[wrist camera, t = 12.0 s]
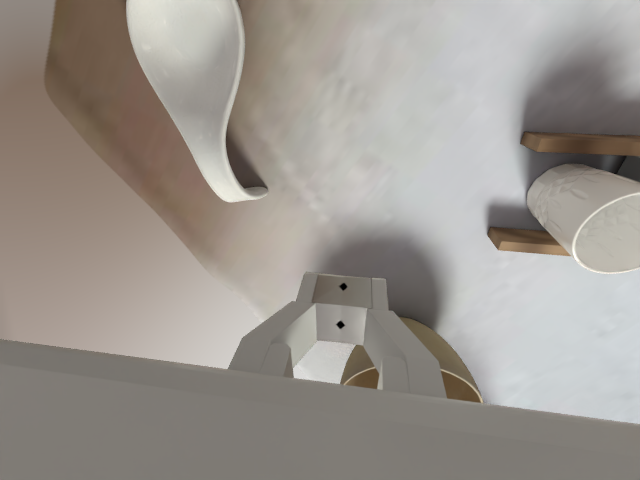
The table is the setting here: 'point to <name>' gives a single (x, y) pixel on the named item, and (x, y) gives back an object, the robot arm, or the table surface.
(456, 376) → the flower pot
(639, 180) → the pusher
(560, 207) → the white cup
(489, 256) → the table surface
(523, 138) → the brown wooden frame
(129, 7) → the spoon rest
